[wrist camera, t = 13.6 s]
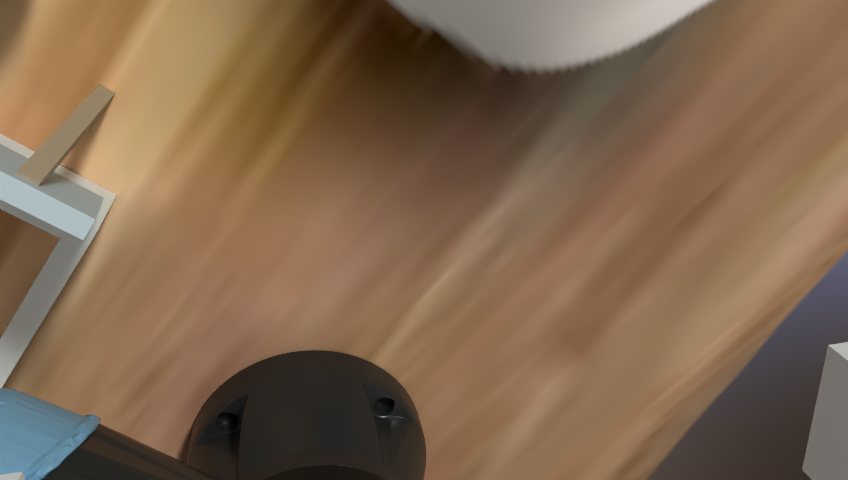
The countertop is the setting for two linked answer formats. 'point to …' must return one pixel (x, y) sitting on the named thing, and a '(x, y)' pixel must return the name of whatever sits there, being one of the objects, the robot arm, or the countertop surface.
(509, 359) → the countertop surface
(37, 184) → the cold frame
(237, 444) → the robot arm
